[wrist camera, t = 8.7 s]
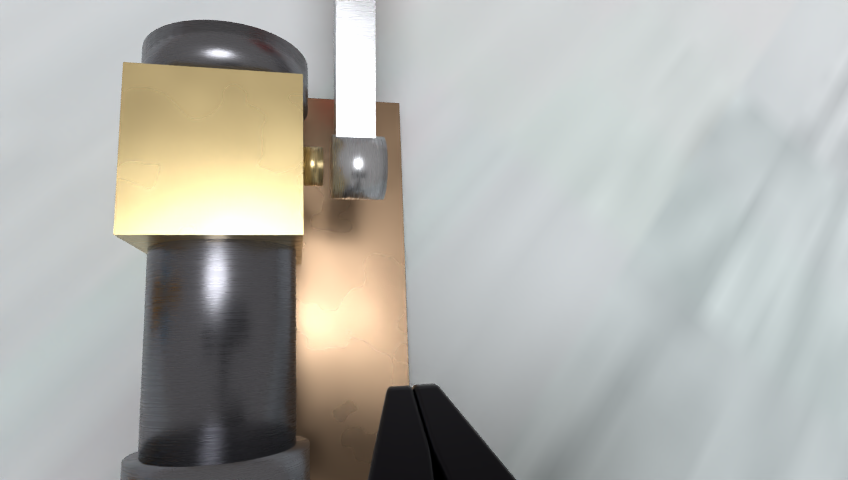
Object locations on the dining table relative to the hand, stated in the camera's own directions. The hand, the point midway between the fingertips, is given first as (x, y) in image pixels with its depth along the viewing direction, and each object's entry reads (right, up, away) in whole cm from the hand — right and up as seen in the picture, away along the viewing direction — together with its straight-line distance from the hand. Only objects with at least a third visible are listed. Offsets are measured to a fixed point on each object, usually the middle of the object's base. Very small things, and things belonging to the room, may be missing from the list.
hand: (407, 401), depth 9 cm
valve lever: (-2, +5, +8) cm, 10 cm away
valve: (-5, +1, +13) cm, 14 cm away
